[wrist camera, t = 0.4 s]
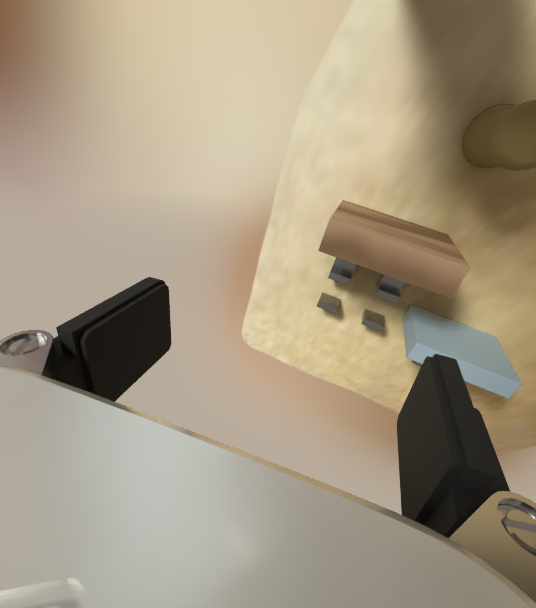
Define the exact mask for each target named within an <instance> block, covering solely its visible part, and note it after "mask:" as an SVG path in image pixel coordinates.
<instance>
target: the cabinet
mask: <svg viewBox="0 0 536 608" xmlns="http://www.w3.org/2000/svg"><path fill="white" fill-rule="evenodd" d="M319 251H320V252H323V253H326V254H329V255H331V256H334V257H337V258H340V259H342V260H345V261H348V262H351V263H354V264H356V265H359V266H362V267H365V268H367V269H370V270H373V271H376V272H378V273H381V274H384V275H387V276H389V277H392V278H395V279H398V280H400V281H403V282H406V283H409V284H411V285H414V286H417V287H420V288H422V289H425V290H428V291H431V292H434V293H436V294H439V295H442V296H445V297H447V298H450V297H451V296H452V294H453V293H454V292H455V290H456V289H457V287H458V286H459V284H460V283H461V281H462V280H463V278H464V277H465V275H466V274H467V272H468V271H469V269H470V266H469V265H468V264H467V262H466V261H465V259H464V258H463V256H462V255H461V253H460V252H459V250H458V249H457V247H456V246H455V244H454V243H453V241H452V240H451V238H450V237H449V235H447V234H444V233H441V232H438V231H435V230H432V229H429V228H426V227H423V226H420V225H417V224H414V223H411V222H408V221H405V220H402V219H399V218H396V217H393V216H390V215H387V214H384V213H381V212H378V211H374V210H371V209H368V208H365V207H362V206H359V205H356V204H353V203H350V202H347V201H344V200H343V201H342V202H341V204H340V205H339V207H338V208H337V210H336V211H335V213H334V214H333V215H332V217H331V218H330V220H329V223H328V226H327V228H326V231H325V234H324V237H323V240H322V242H321V245H320V248H319Z"/></svg>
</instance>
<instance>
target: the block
mask: <svg viewBox="0 0 536 608" xmlns="http://www.w3.org/2000/svg"><path fill="white" fill-rule="evenodd" d="M403 326H404V336H405V345H406V355H407V358H408V359H411V360H412V362H413V363H415V364H416V365H420V366H421V365H422V364H423V362H424V360H425V358H426V357H427V356H429V357H433V355H434V354H439V355H443V356H447V357H451V358H454V359H456V360H457V362H458V365H459V368H460V371H461V373H462V376H463V379H464V381H466V382H468V383H471V384H473V385H476V386H478V387H481V388H483V389H486V390H488V391H491V392H493V393H496V394H498V395H501V396H503V397H506V398H509V397H510V396H511V395H512V394H513V393H514V392H515V391H516V390H517V389H518V388H519V387H520V386H521V385H522V382H521V380H520V378H519V377H518V375H517V373H516V371H515V370H514V368H513V366H512V364H511V363H510V361H509V359H508V357H507V356H506V354H505V352H504V350H503V349H502V347H501V345H500V343H499V341H498V340H497V338H496V336H493V335H490V334H488V333H485V332H482V331H480V330H477V329H474V328H472V327H469V326H466V325H463V324H461V323H458V322H455V321H453V320H450V319H447V318H445V317H442V316H439V315H437V314H434V313H431V312H429V311H426V310H423V309H421V308H418V307H415V306H412V305H410V307H409V309H408V310H407V312H406V314H405V315H404V317H403Z"/></svg>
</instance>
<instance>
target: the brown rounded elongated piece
mask: <svg viewBox="0 0 536 608" xmlns="http://www.w3.org/2000/svg"><path fill="white" fill-rule="evenodd" d="M462 148H463V152H464V155H465V157H466V158H467V160H468V161H469V162H470V163H472V164H474V165H475V166H479V167H484V168H486V167H495V166H502V167H504V168H506V169H511V170H516V171H518V170H527V169H531V168H533V167H536V100H532V101H528V102H526V103H524V104H521V105H519V106H514V105H507V104H503V105H497V106H493V107H491V108H489V109H487V110H485V111H483V112H482V113H481V114H479V115H478V116H477V117H476V118H474V120H473V121H472V122H471V123H470V125H469V126H468V127H467V130H466V132H465V134H464V137H463V144H462Z"/></svg>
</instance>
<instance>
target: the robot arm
mask: <svg viewBox="0 0 536 608" xmlns="http://www.w3.org/2000/svg"><path fill="white" fill-rule="evenodd" d="M56 329H57V332H58V336H57V337H55V338H54V339H53V336H52V335H51V334H50V333H48V332H46V331H41V330H28V331H22V332H19V333H15V334H12V335H10V336H7V337H5V338H3V339H2V340H0V608H536V503H534V502H533V501H531V500H529V499H527V498H525V497H523V496H521V495H519V494H516V493H513V492H510V490H509V487H508V485H507V482H506V479H505V477H504V474H503V471H502V469H501V466H500V463H499V461H498V458H497V455H496V453H495V450H494V447H493V445H492V442H491V439H490V437H489V434H488V431H487V429H486V426H485V423H484V421H483V418H482V415H481V413H480V412H479V410H477V409H476V408H474V407H473V404H472V401H471V399H470V396H469V393H468V390H467V387H466V385H465V382H464V379H463V376H462V373H461V371H460V368H459V365H458V362H457V360H456V359H454V358H451V357H447V356H443V355H439V354H434V355H433V357H429V356H427V357H426V358H425V360H424V362H423V364H422V366H421V369H420V371H419V373H418V375H417V377H416V379H415V381H414V384H413V386H412V388H411V390H410V392H409V394H408V396H407V399H406V401H405V403H404V405H403V407H402V409H401V412H400V414H399V417H398V420H397V436H398V454H399V472H400V489H401V507H402V515H400V514H398V513H396V512H393V511H391V510H389V509H386V508H384V507H381V506H379V505H377V504H374V503H372V502H369V501H367V500H364V499H362V498H360V497H357V496H355V495H352V494H350V493H348V492H345V491H343V490H340V489H337V488H335V487H333V486H330V485H328V484H325V483H323V482H320V481H318V480H315V479H313V478H310V477H307V476H305V475H302V474H300V473H297V472H294V471H292V470H290V469H287V468H284V467H282V466H279V465H277V464H274V463H272V462H269V461H267V460H264V459H262V458H259V457H257V456H254V455H251V454H249V453H246V452H244V451H241V450H239V449H236V448H234V447H231V446H228V445H226V444H223V443H220V442H218V441H215V440H213V439H210V438H208V437H205V436H202V435H200V434H197V433H195V432H192V431H190V430H187V429H184V428H182V427H179V426H177V425H174V424H171V423H169V422H166V421H163V420H161V419H158V418H156V417H153V416H150V415H148V414H145V413H142V412H140V411H137V410H135V409H132V408H129V407H127V406H124V405H121V404H118V403H116V402H115V401H116V400H117V399H118V398H119V397H120V396H121V395H122V394H123V393H124V392H125V391H126V390H127V389H128V388H129V387H130V386H132V385H133V384H134V383H135V382H136V381H137V380H138V379H139V378H140V377H141V376H142V375H143V374H144V373H145V372H146V371H147V370H148V369H149V368H151V367H152V365H154V364H155V363H156V362H157V361H158V360H159V359H160V358H161V357H162V356H163V355H164V354H165V353H166V352H167V351H168V350H169V349H170V346H171V327H170V305H169V289H168V286H166V284H165V282H164V281H163V280H159V279H155V278H151V277H148V278H146V279H144V280H142V281H140V282H138V283H136V284H135V285H133V286H131V287H129V288H127V289H126V290H124V291H122V292H120V293H118V294H117V295H115V296H113V297H111V298H109V299H107V300H106V301H104V302H102V303H100V304H98V305H96V306H95V307H93V308H91V309H89V310H88V311H85V312H84V313H82V314H80V315H78V316H77V317H75V318H73V319H71V320H69V321H67V322H65V323H64V324H62V325H60V326H58V327H57V328H56Z"/></svg>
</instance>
